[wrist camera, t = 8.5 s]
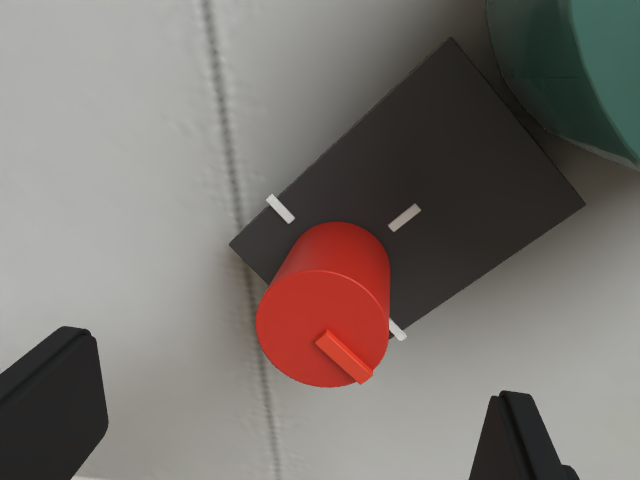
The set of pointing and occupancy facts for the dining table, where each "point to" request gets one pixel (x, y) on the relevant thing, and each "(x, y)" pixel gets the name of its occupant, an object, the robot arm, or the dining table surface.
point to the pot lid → (608, 64)
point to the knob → (328, 307)
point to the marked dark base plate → (424, 187)
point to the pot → (546, 73)
